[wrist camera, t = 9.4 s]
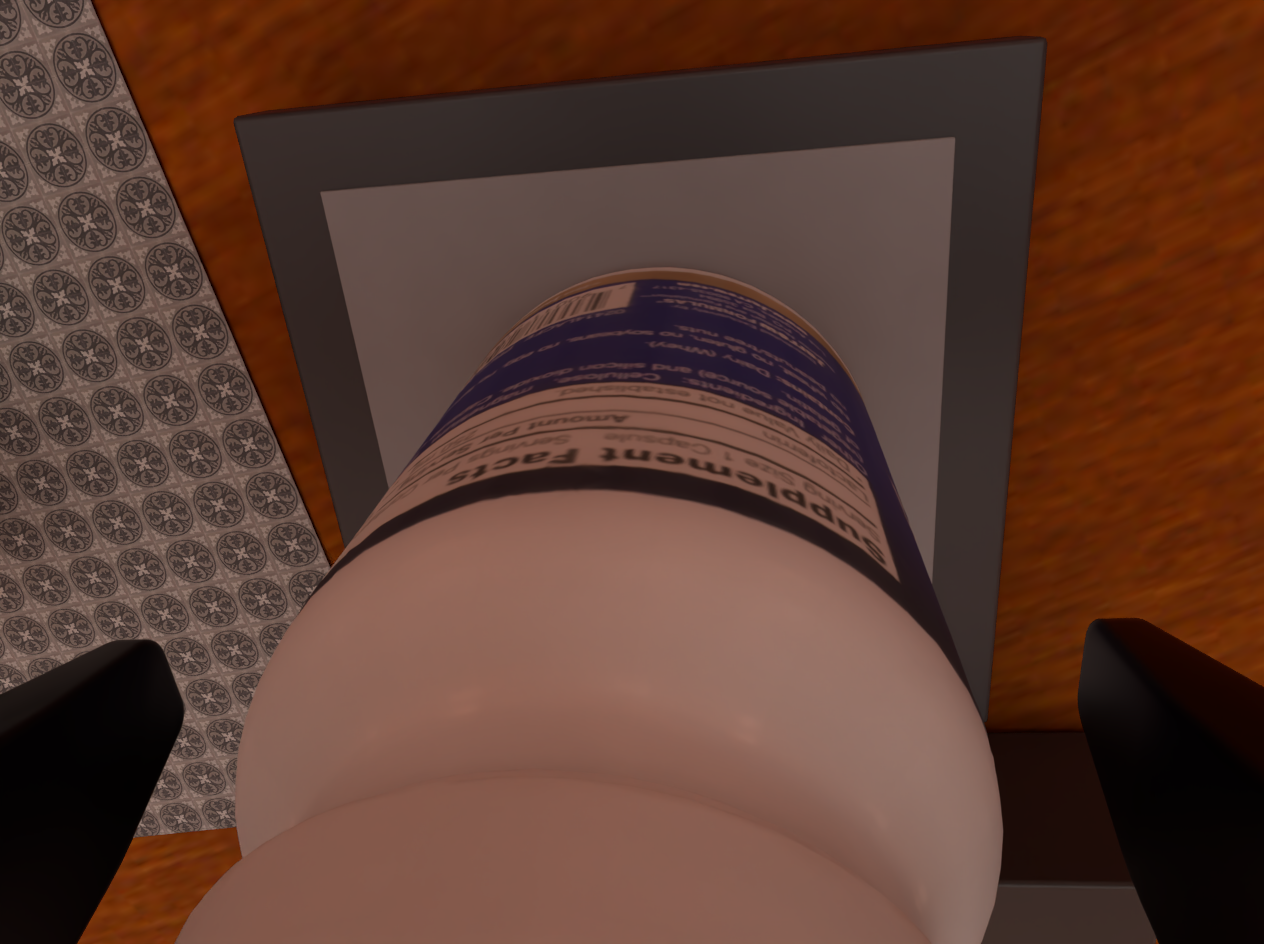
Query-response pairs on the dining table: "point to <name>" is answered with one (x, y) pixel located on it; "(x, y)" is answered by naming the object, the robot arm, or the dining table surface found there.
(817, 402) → the pill bottle
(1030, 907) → the red arcade button box
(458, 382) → the tray
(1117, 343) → the dining table surface
